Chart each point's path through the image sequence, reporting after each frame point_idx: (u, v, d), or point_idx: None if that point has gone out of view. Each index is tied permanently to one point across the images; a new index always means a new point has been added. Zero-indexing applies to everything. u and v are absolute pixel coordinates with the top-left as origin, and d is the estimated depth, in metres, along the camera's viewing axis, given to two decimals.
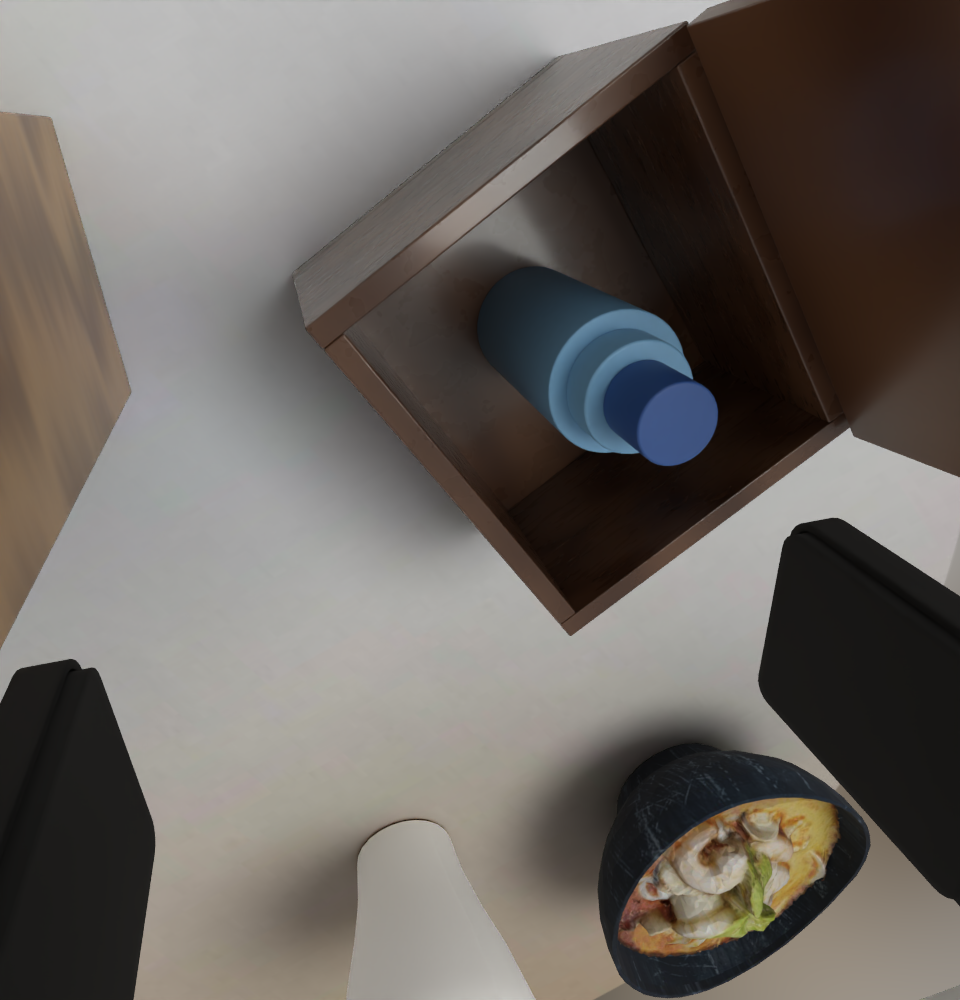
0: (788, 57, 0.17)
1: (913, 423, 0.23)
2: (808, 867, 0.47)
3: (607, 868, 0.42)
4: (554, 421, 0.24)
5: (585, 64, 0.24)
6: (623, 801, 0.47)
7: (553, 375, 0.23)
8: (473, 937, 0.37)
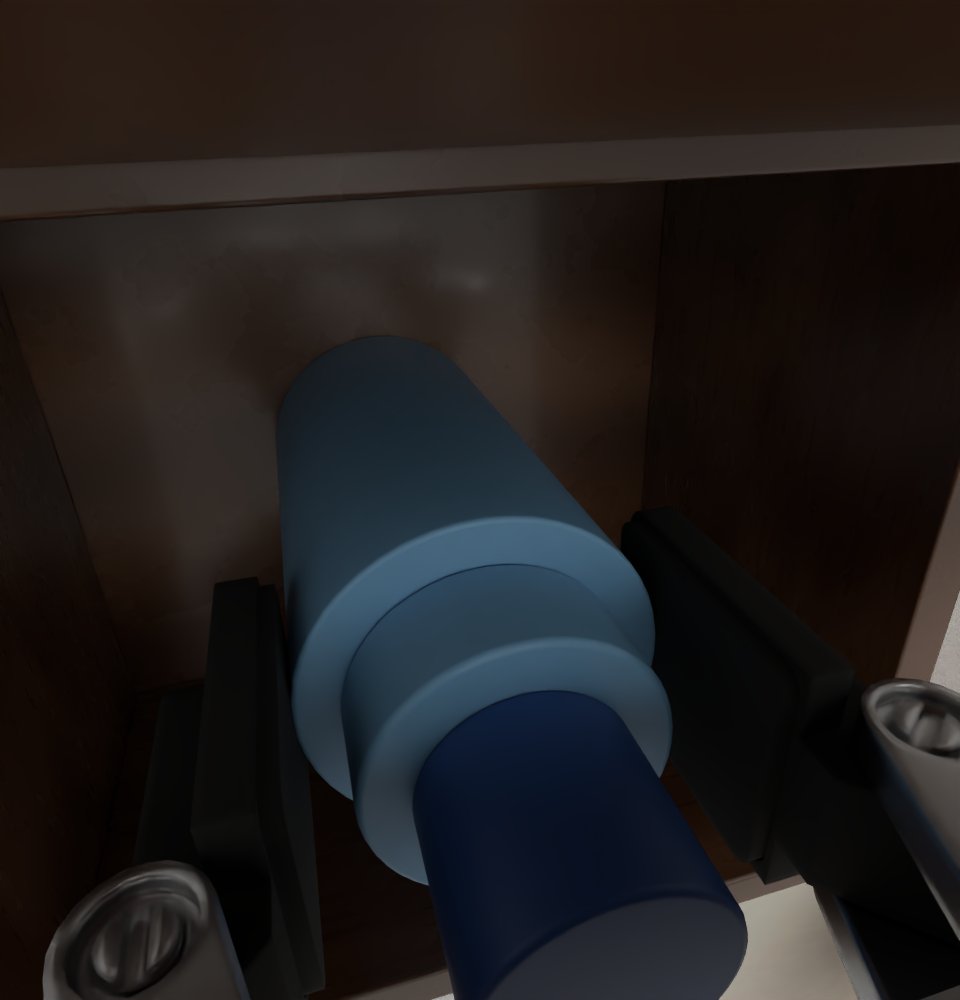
0: None
1: None
2: None
3: None
4: None
5: None
6: None
7: None
8: None
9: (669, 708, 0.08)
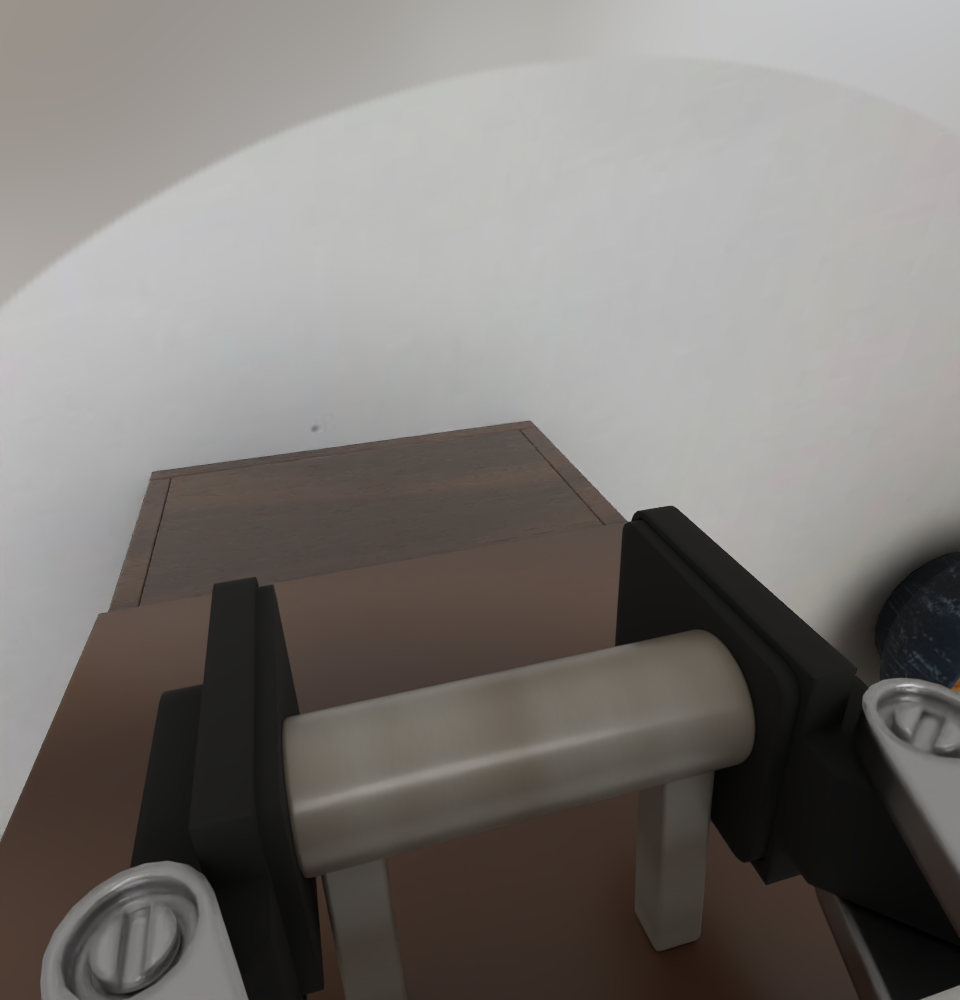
0: None
1: None
2: None
3: None
4: None
5: None
6: None
7: None
8: None
9: None
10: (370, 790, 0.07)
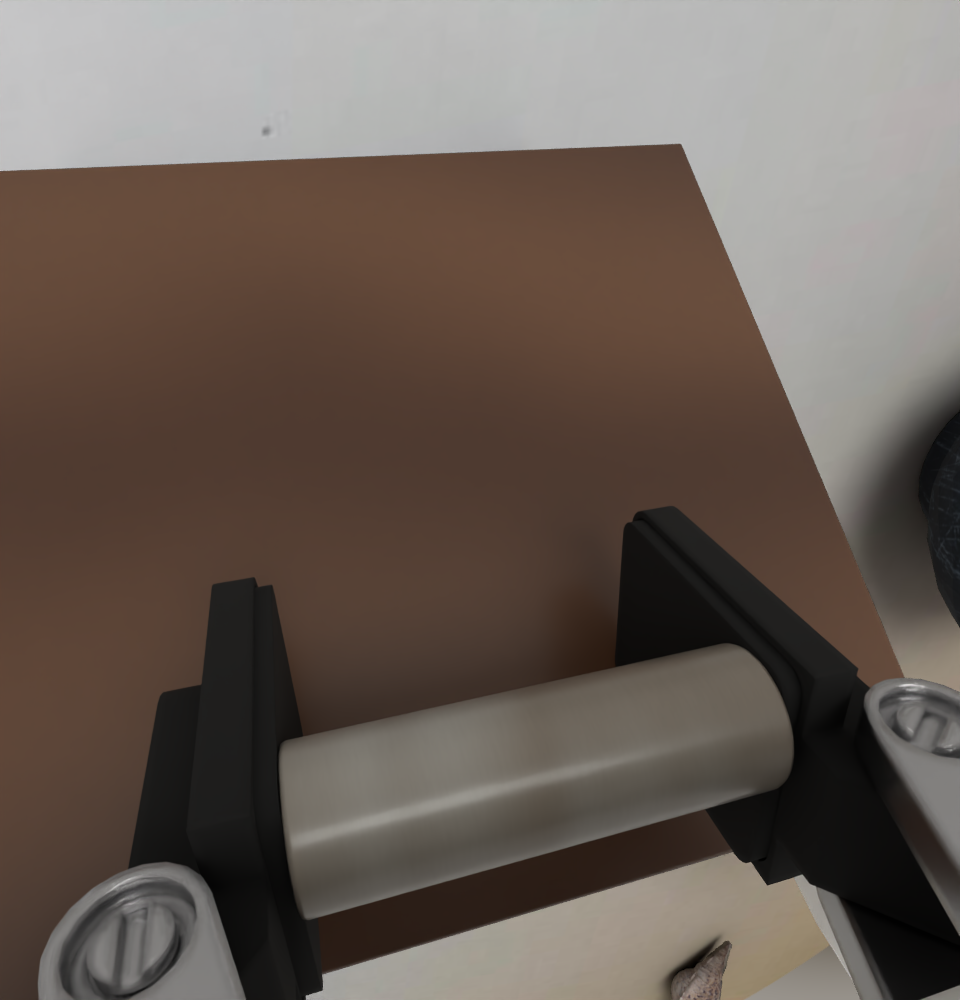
0: None
1: None
2: None
3: (954, 618, 0.35)
4: None
5: None
6: None
7: None
8: None
9: None
10: (386, 886, 0.06)
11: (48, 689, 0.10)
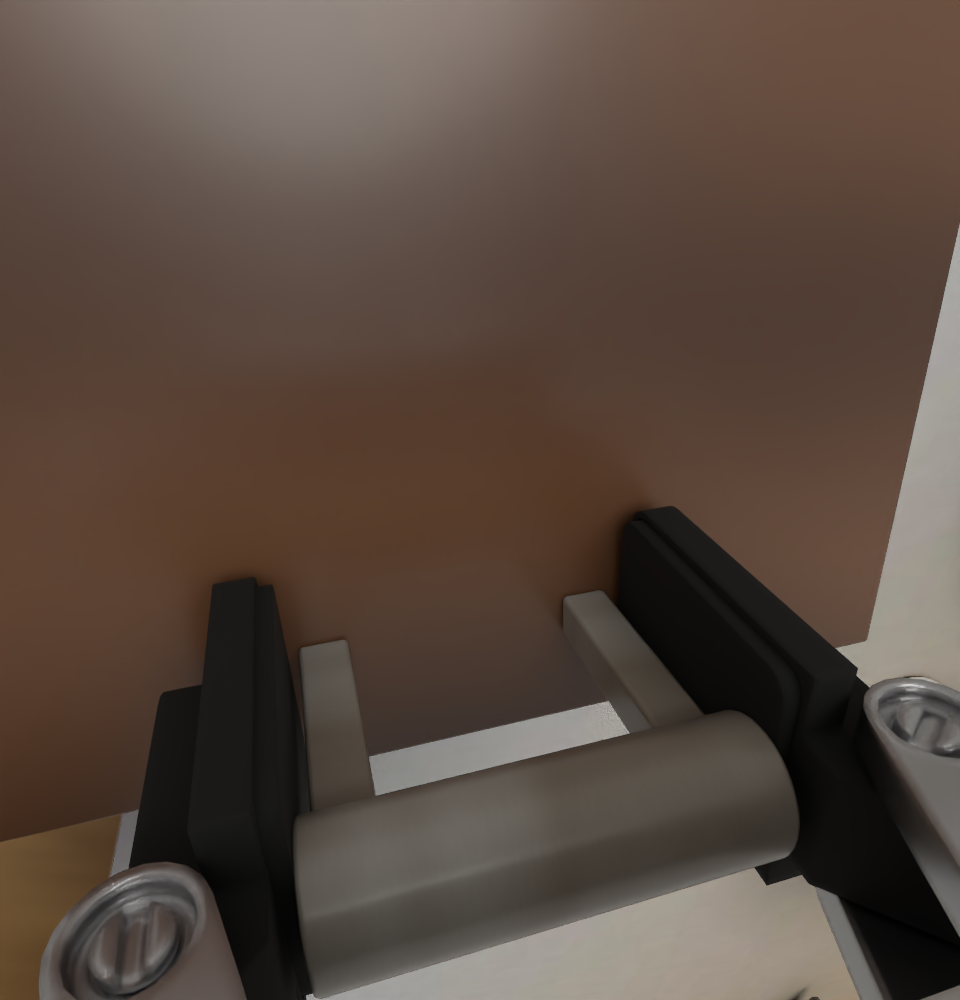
0: None
1: None
2: None
3: None
4: None
5: None
6: None
7: None
8: None
9: None
10: None
11: None
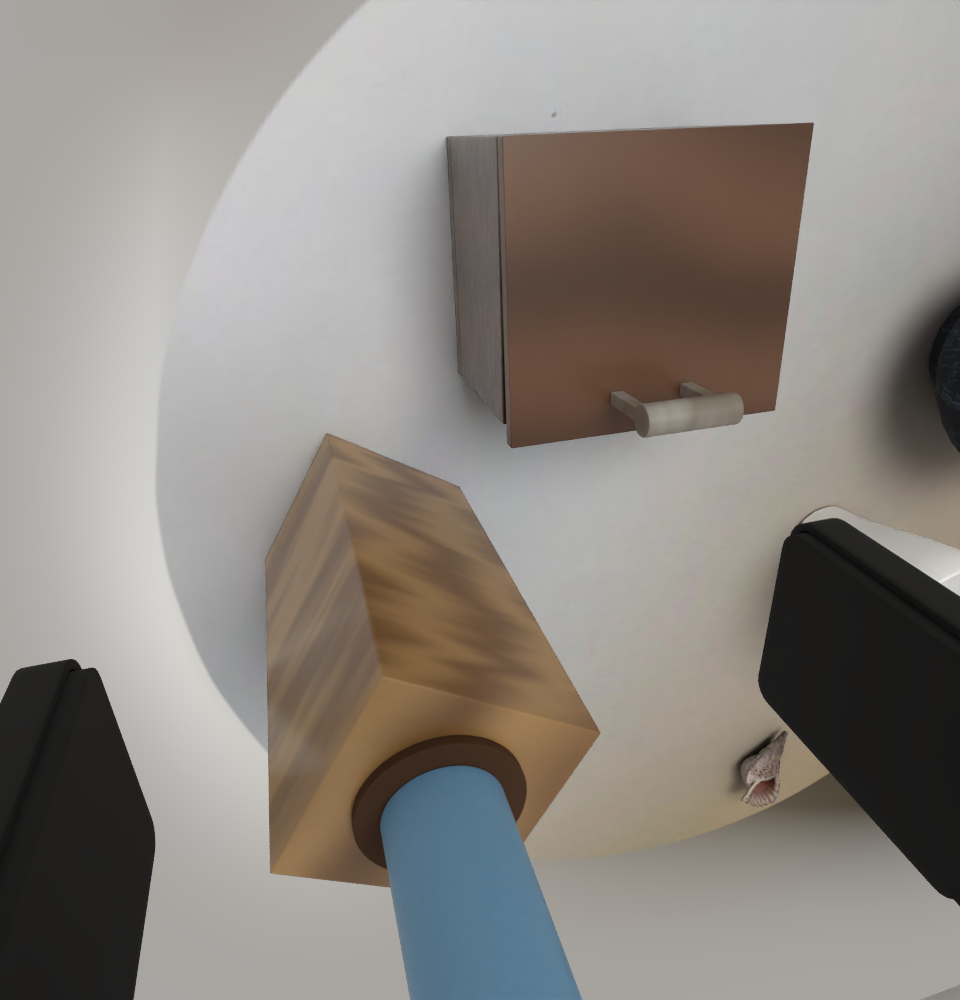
0: None
1: None
2: None
3: (954, 442, 0.52)
4: None
5: (471, 164, 0.36)
6: None
7: None
8: None
9: None
10: (660, 434, 0.34)
11: (545, 358, 0.35)
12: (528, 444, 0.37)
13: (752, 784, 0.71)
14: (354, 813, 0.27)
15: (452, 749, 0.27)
